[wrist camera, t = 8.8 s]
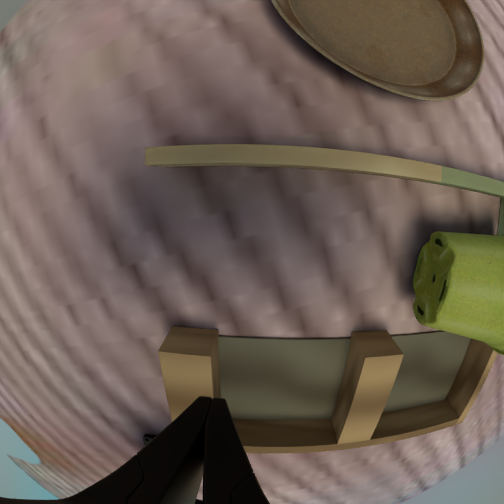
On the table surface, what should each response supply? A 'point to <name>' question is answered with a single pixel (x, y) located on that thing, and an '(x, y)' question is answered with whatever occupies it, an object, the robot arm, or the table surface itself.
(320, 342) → the compartment box
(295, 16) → the plant saucer
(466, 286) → the plant pot
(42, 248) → the table surface
